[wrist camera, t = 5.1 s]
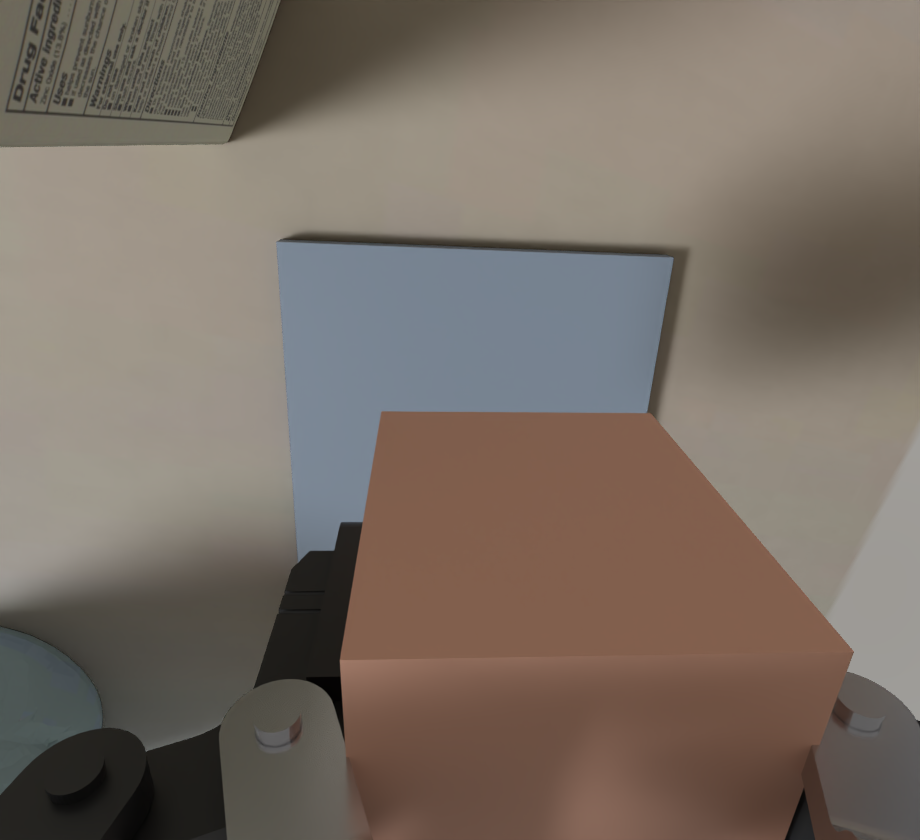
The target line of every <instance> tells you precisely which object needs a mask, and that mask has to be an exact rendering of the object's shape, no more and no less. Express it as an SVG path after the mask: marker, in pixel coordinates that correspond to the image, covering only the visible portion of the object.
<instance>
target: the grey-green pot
mask: <svg viewBox="0 0 920 840" xmlns="http://www.w3.org/2000/svg"><path fill="white" fill-rule="evenodd" d="M102 721H103V714H102V706H101V700H100V698H99V695H98V693H97V690H96V688H95V687H94V685H93V684H92V682H91V680H90V679H89V678H88V676H87V675H86V674H85V673H84V671H83V670H82V669H81V668H80V667H79V666H78V665H77V664H75V663H74V662H73V661H72V660H71V659H70V658H69V657H68V656H66V655H65V654H63V653H62V652H60V651H59V650H58V649H56V648H55V647H53V646H51V645H49V644H47V643H45V642H43V641H41V640H39V639H37V638H35V637H33V636H31V635H28V634H24V633H21V632H18V631H15V630H12V629H7V628H3V627H0V795H1V794H2V792H3V791H4V790H5V789H6V788H7V787H8V786H9V785H10V784H11V783H12V782H13V780H14V779H15V778H16V777H17V776H18V775H19V774H20V773H21V772H22V771H23V770H24V769H25V768H26V767H27V766H28V765H29V764H30V763H31V762H32V761H33V760H34V759H35V758H36V757H38V756H39V755H40V754H41V753H43V752H44V751H45V750H47V749H49V748H50V747H52V746H53V745H55V744H57V743H58V742H60V741H62V740H64V739H66V738H68V737H71V736H73V735H76V734H79V733H82V732H85V731H89V730H94V729H100V728H102Z"/></svg>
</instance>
